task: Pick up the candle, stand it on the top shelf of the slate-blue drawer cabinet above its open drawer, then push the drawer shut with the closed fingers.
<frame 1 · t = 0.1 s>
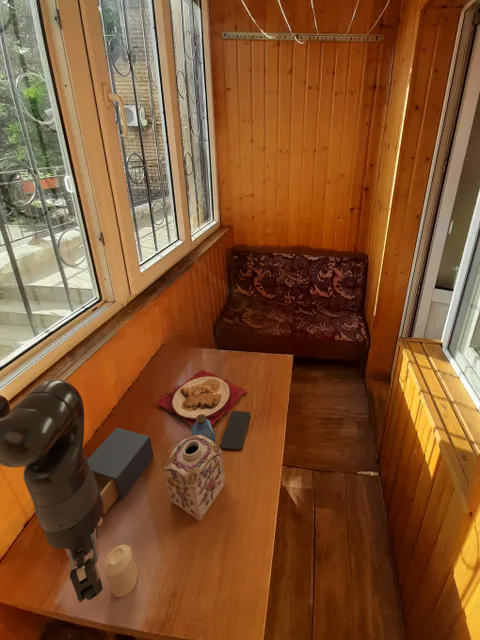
hand: (93, 564, 53), 28 cm above the table, tool pointing down, fingers open, 8 cm apart
perfume bottle: (204, 445, 105), on the table
phone: (236, 430, 110), on the table
decorative jar: (198, 492, 91), on the table
candle: (125, 582, 72), on the table
cabinet: (122, 472, 96), on the table
plate with food: (203, 398, 124), on the table
drawer: (92, 494, 86), point 5 cm above the table, slide at 6.0 cm
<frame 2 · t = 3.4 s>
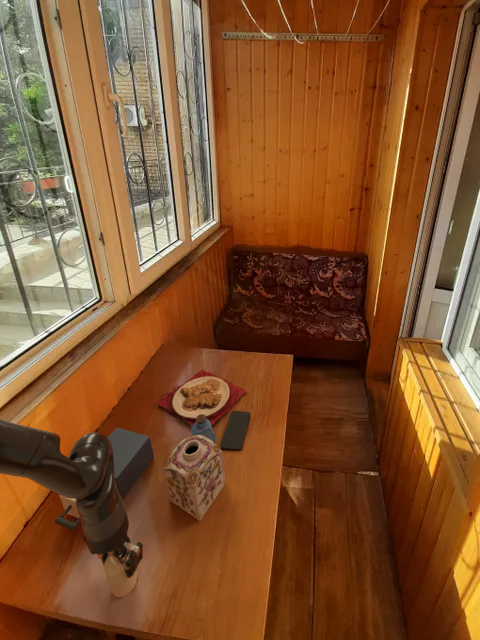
hand: (120, 567, 70), 6 cm above the table, tool pointing down, fingers closed on candle, 5 cm apart
candle: (125, 582, 72), on the table, touching gripper
everything else where it was.
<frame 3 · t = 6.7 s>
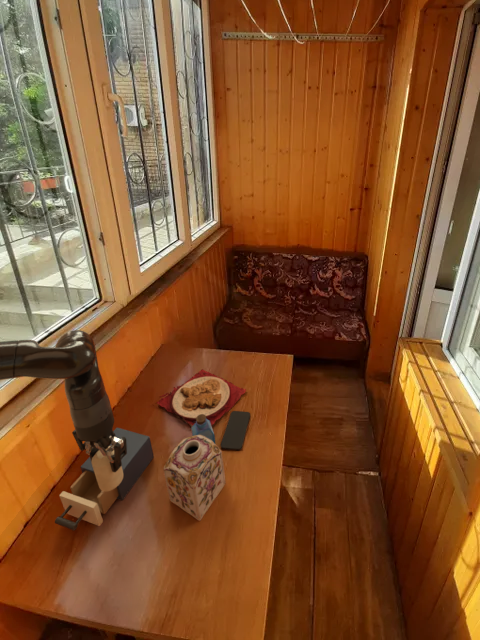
hand: (107, 465, 77), 21 cm above the table, tool pointing down, fingers closed on candle, 5 cm apart
candle: (111, 481, 78), point 16 cm above the table, touching gripper
everything else where it was.
when the fingers open (15 cm above the table, at t = 9.9 s): candle stays where it is, resting on cabinet.
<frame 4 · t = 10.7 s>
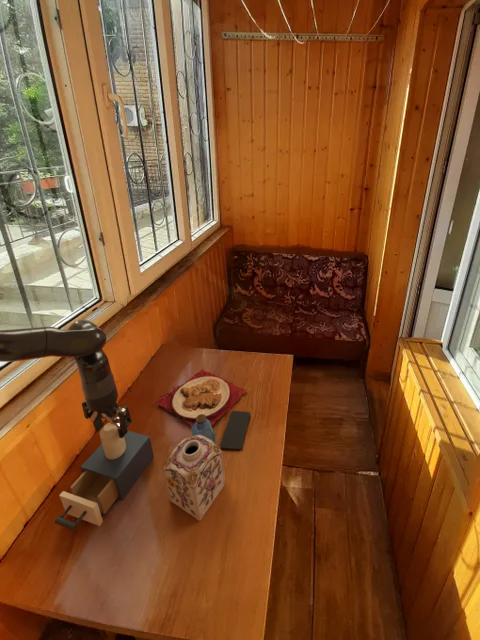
hand: (111, 432, 91), 17 cm above the table, tool pointing down, fingers open, 8 cm apart
candle: (116, 451, 93), point 9 cm above the table, touching cabinet
everything else where it was.
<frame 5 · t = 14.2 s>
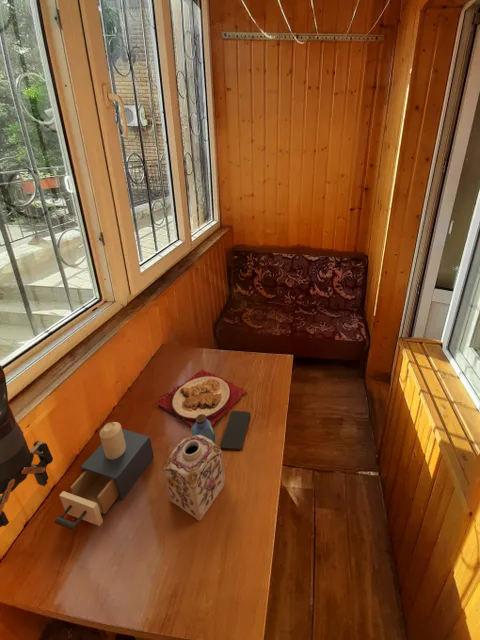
hand: (24, 502, 68), 22 cm above the table, tool pointing down, fingers open, 8 cm apart
nothing on the table moved.
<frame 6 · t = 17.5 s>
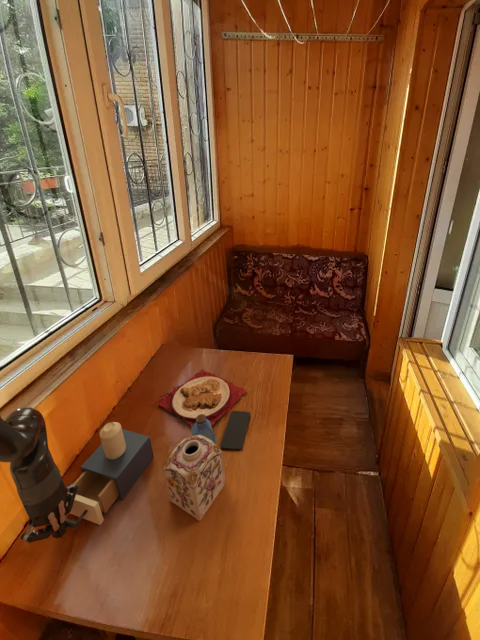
hand: (61, 533, 77), 5 cm above the table, tool pointing down, fingers closed
drawer: (93, 493, 86), point 5 cm above the table, slide at 5.7 cm, touching gripper
everything else where it was.
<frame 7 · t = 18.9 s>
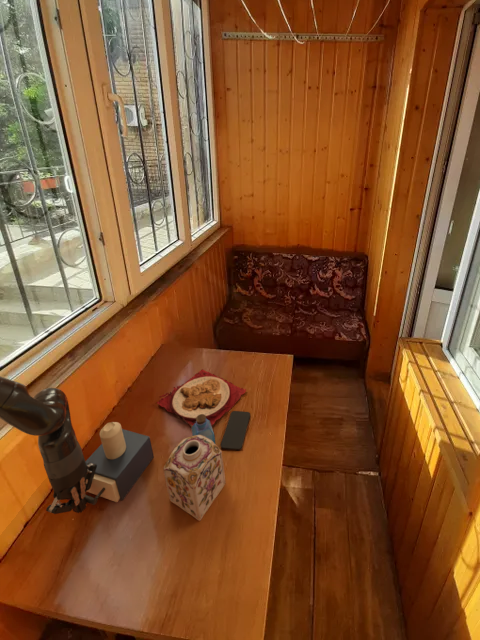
hand: (81, 509, 82), 5 cm above the table, tool pointing down, fingers closed
drawer: (109, 473, 91), point 5 cm above the table, slide at 0.0 cm, touching cabinet, gripper
everything else where it was.
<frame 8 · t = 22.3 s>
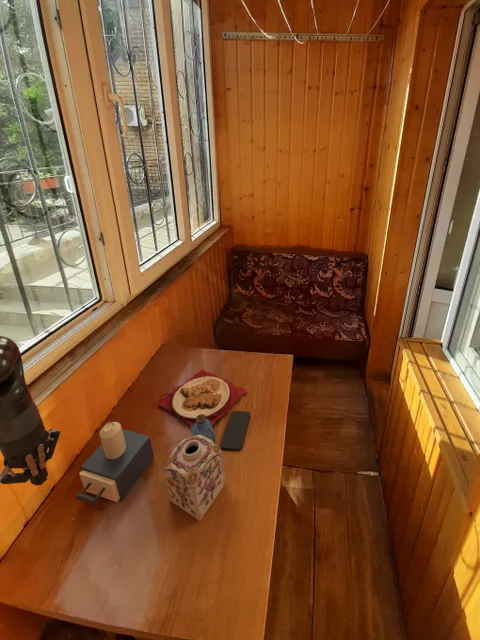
hand: (41, 481, 71), 23 cm above the table, tool pointing down, fingers closed
drawer: (109, 473, 91), point 5 cm above the table, slide at 0.0 cm
everything else where it was.
at the end: candle inside the target area on the cabinet (0.1 cm from its centre), point 8.9 cm above the cabinet's base; candle tilted 0°; drawer slide at 0.0 cm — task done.
